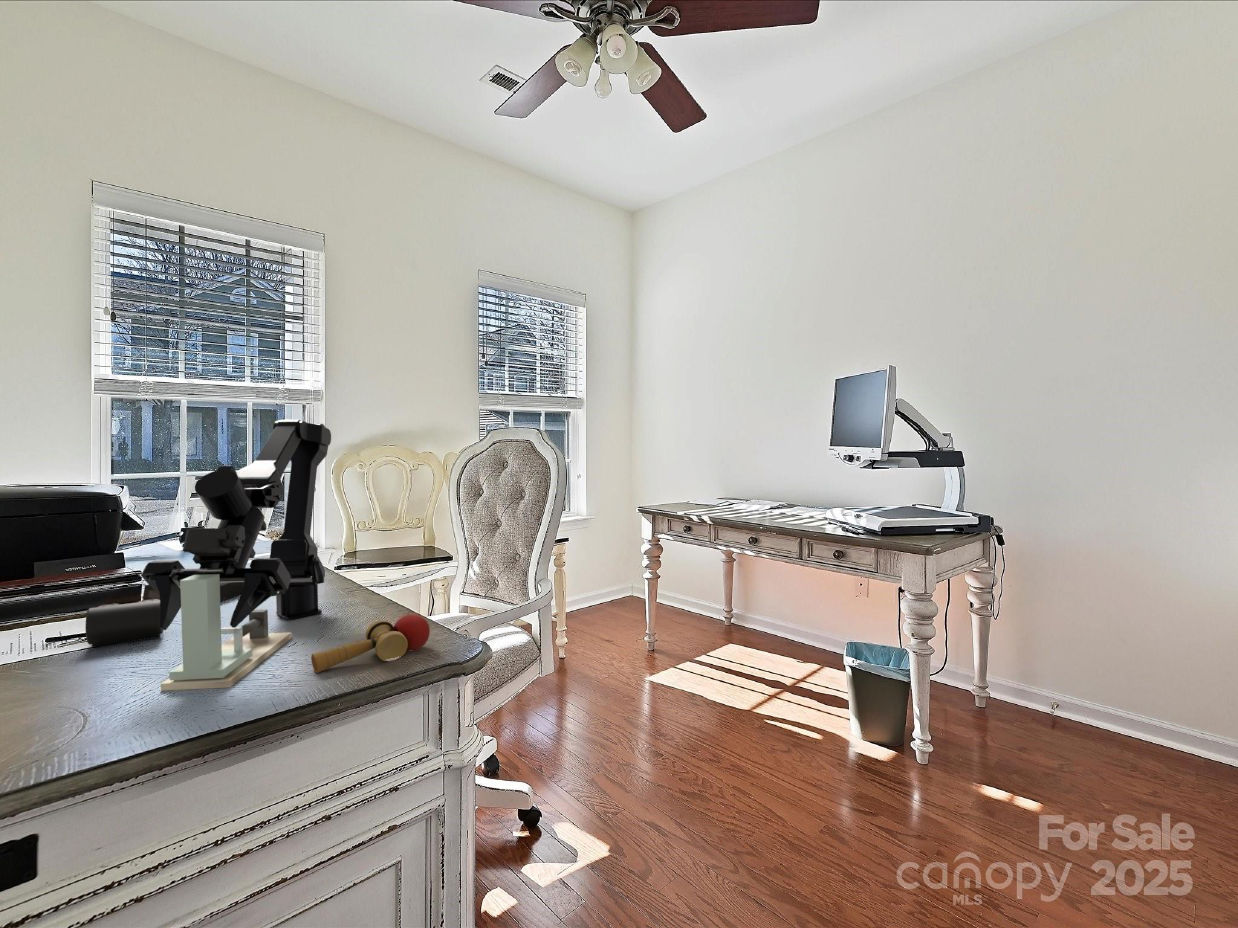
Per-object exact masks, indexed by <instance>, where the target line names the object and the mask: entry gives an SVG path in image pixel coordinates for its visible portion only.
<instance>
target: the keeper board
mask: <svg viewBox="0 0 1238 928" xmlns="http://www.w3.org/2000/svg"><path fill="white" fill-rule="evenodd" d="M268 610H269V609H255V610H253V611H252V612H251V613H250V614H249V615H248V621H247V622H246V623H244V624H242V625H240V627H242V634H243V649H252V656H251V657H250V658H249V659H247V660H246V661H245V662H243V663H242V664H241V665H240V666H238V667H237V668H236V669H234V670H233V671H232V672H230V673H229V674H228V675H226V676H225V677H224V678H210V679H188V680H170V677H169V678H167V679H166V680H164V681H163V682H161V683H160V691H161V692H162V691H163V692H164V691H165V692H166V691H180V690H181V691H182V690H202V689H203V690H204V689H205V690H206V689H223V688H224V689H225V688H231V687H232V686H233V685H235V684H236V683H238V681H240V680H241V679H242V678H244V677H245V676H246V675H247V674H248V673H250V672H252V670H254V669H255V668H256V667H257V666H258V665H259V664H261V663H262V662H263V661H265V660H266V659H267V658H268V657H269V656H271V655H272V654H273V653H275V652H276V651H277V650H278V649H280V648H281V647H282V646H283V645H285V644H286V643H288V641H290V640H291V639H292V637H293V636H292V632H291V631H290V632H269V618H268V617H269V614H268ZM221 644H222V650H229V649H234V636H232V637H231V638H230V639H228V640H226V641H225V642H223V643H221Z"/></svg>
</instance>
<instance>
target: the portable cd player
mask: <svg viewBox="0 0 1238 928" xmlns="http://www.w3.org/2000/svg"><path fill="white" fill-rule="evenodd" d="M143 588H144V589H143V595H142V600H151V599H152V598H153V599H159V600H160V596H159V594H157V593H156V592H155V591H154V589H153V588H152V587H151V586H150V585H149V584H148V583H147V584H145V585H144V587H143ZM243 588H244V582H220V603H222V602H225V601H229V600H232V599H234V598H237V597H240V596H241V593H242V591H243Z"/></svg>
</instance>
